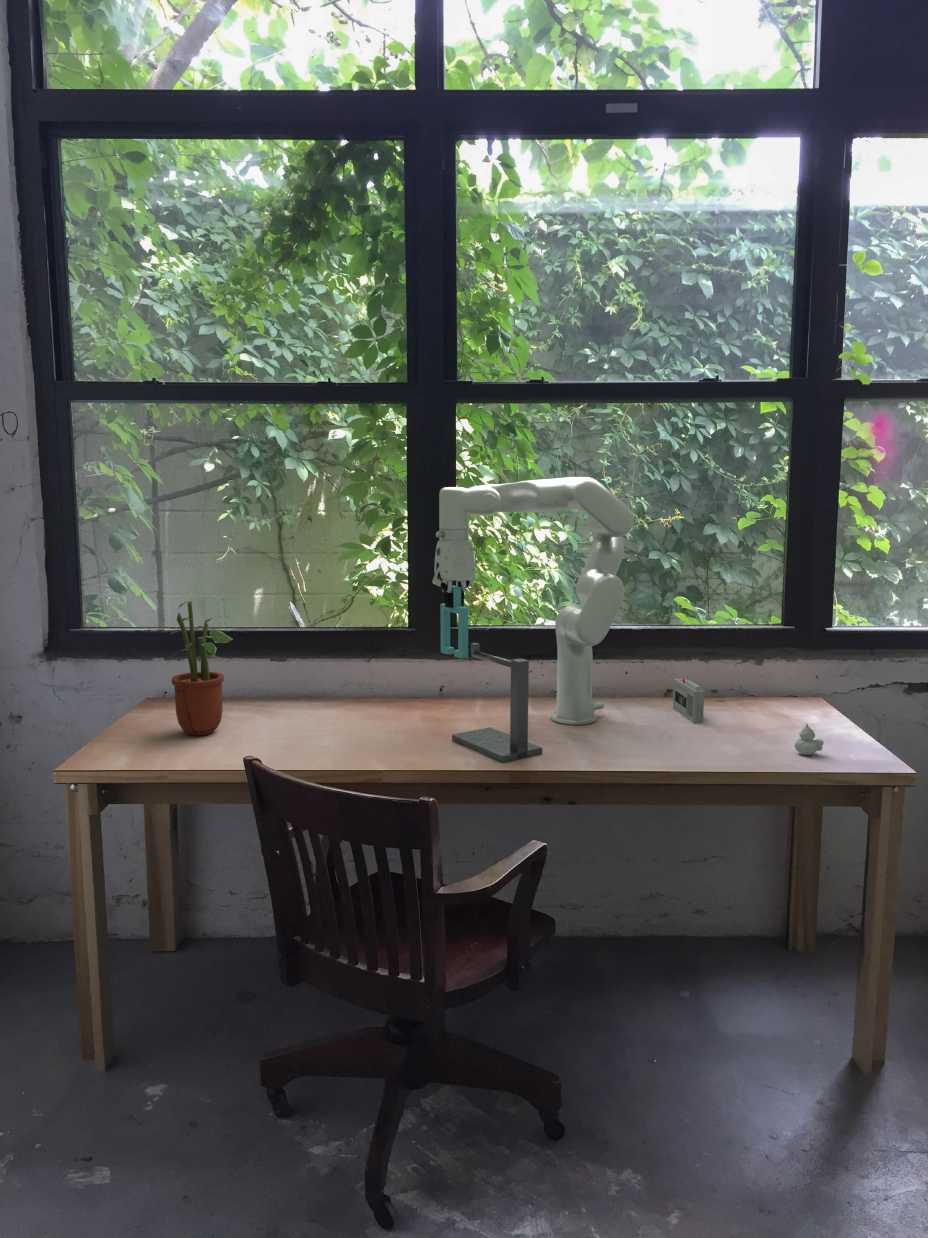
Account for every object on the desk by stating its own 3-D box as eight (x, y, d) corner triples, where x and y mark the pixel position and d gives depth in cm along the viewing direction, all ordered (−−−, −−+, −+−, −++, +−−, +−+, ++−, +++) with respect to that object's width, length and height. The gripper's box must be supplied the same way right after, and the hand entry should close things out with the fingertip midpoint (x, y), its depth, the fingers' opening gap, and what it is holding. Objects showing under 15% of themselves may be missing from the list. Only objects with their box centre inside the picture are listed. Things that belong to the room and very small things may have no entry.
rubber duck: (792, 750, 221) (794, 719, 220) (820, 752, 220) (822, 720, 219) (796, 757, 216) (798, 725, 215) (825, 758, 215) (827, 726, 214)
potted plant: (211, 741, 228) (205, 604, 223) (155, 737, 231) (148, 602, 226) (242, 723, 245) (237, 595, 240) (189, 719, 248) (183, 593, 243)
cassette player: (672, 709, 261) (674, 675, 259) (681, 708, 261) (683, 675, 259) (693, 723, 245) (694, 687, 244) (702, 723, 246) (704, 687, 244)
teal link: (468, 657, 233) (469, 588, 230) (460, 658, 231) (460, 589, 228) (447, 651, 241) (447, 584, 238) (439, 652, 239) (439, 585, 237)
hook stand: (490, 732, 236) (490, 640, 232) (542, 753, 218) (543, 653, 215) (451, 740, 229) (451, 645, 225) (502, 762, 212) (503, 659, 208)
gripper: (435, 537, 224) (435, 611, 226) (488, 535, 233) (487, 606, 235) (419, 536, 230) (420, 607, 233) (471, 533, 239) (471, 602, 242)
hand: (454, 606), depth 234 cm, fingers closed on teal link, 2 cm apart
